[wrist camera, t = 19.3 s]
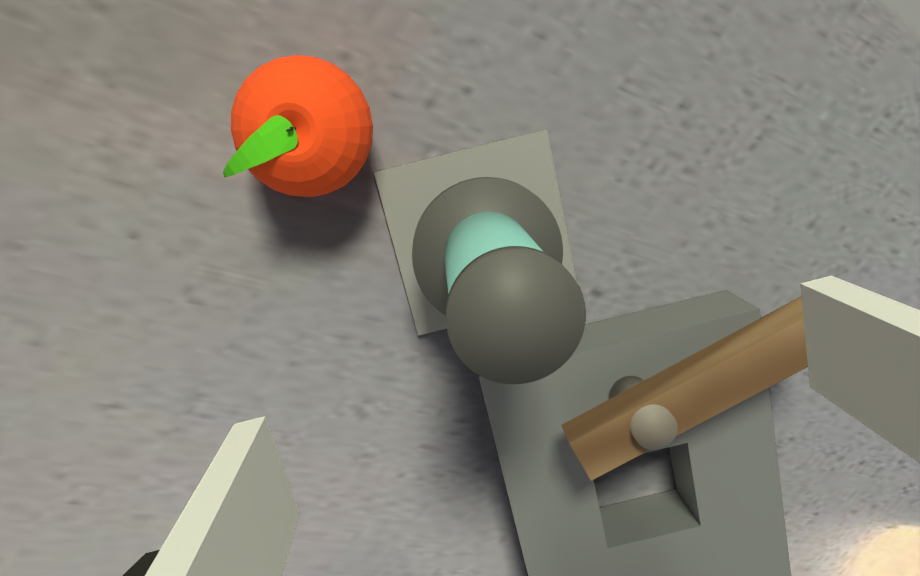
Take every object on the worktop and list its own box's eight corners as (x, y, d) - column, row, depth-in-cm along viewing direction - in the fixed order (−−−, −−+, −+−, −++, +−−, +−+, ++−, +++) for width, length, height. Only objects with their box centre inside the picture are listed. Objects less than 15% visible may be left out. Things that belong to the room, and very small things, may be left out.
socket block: (538, 612, 45) (548, 659, 41) (473, 351, 39) (478, 377, 35) (762, 558, 44) (794, 601, 40) (727, 290, 39) (759, 308, 35)
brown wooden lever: (555, 411, 36) (571, 449, 32) (808, 274, 35) (860, 295, 30) (575, 445, 36) (594, 487, 32) (824, 312, 35) (877, 338, 31)
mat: (418, 333, 39) (418, 335, 38) (374, 171, 36) (373, 172, 36) (578, 294, 39) (579, 296, 38) (545, 129, 36) (546, 129, 36)
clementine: (285, 222, 37) (252, 246, 30) (210, 116, 35) (157, 116, 28) (401, 147, 36) (396, 155, 29) (331, 35, 34) (307, 15, 27)
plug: (431, 312, 38) (435, 442, 23) (399, 188, 36) (379, 239, 21) (555, 282, 38) (642, 392, 23) (529, 155, 36) (605, 183, 21)
